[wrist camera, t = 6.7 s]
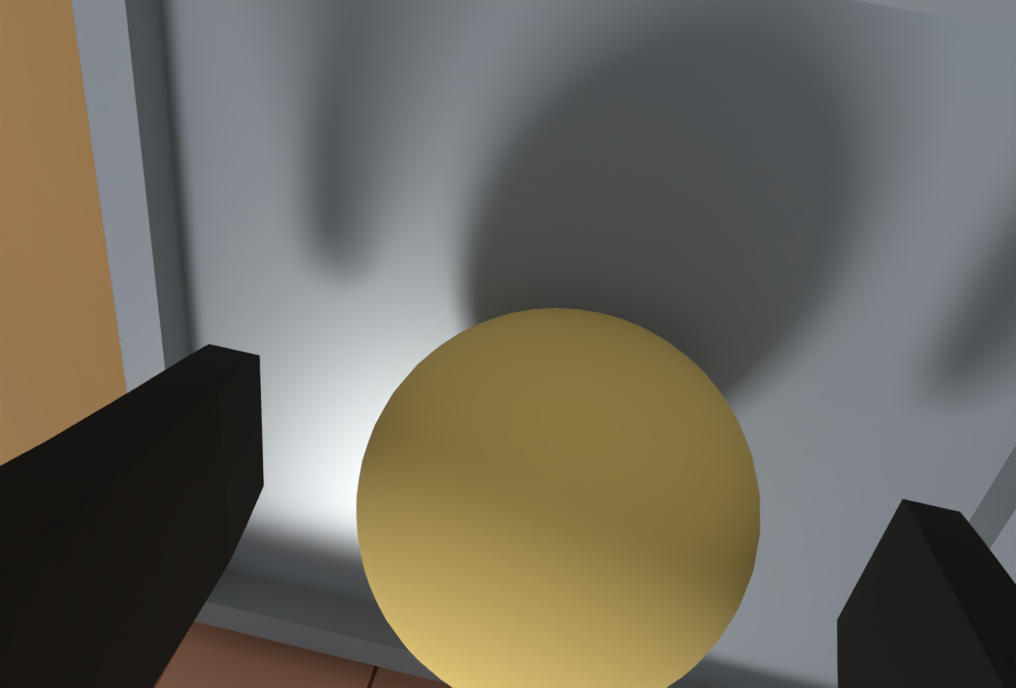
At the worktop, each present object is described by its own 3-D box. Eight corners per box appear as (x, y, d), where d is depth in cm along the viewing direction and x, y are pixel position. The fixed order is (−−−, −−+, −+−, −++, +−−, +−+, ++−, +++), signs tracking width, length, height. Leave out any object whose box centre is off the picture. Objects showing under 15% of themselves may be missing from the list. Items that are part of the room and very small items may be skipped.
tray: (1333, -11, 8) (1415, 24, 7) (867, 721, 15) (877, 788, 14) (111, -227, 9) (40, -222, 8) (191, 558, 16) (157, 612, 15)
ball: (797, 282, 11) (857, 571, 7) (693, 538, 13) (698, 846, 10) (429, 202, 11) (304, 444, 7) (396, 470, 13) (291, 748, 10)
